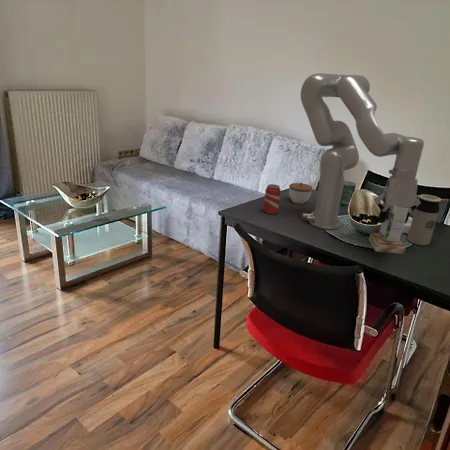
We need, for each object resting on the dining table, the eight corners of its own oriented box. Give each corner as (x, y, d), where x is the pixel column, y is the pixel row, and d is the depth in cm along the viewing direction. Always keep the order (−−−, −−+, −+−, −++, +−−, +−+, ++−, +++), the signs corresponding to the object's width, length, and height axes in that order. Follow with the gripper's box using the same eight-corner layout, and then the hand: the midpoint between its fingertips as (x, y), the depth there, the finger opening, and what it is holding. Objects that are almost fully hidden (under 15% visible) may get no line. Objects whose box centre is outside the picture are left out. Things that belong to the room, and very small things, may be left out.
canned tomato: (331, 203, 191) (335, 181, 187) (343, 201, 195) (347, 180, 190) (342, 208, 185) (346, 186, 181) (355, 207, 188) (359, 184, 184)
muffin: (397, 233, 160) (401, 217, 157) (396, 228, 165) (400, 212, 163) (413, 236, 158) (417, 220, 156) (412, 231, 164) (417, 215, 161)
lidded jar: (313, 205, 187) (316, 186, 183) (292, 205, 184) (294, 186, 181) (304, 198, 196) (307, 179, 193) (284, 198, 194) (286, 179, 190)
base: (375, 253, 143) (377, 242, 142) (368, 241, 152) (370, 232, 151) (403, 255, 143) (406, 245, 141) (394, 244, 152) (397, 234, 150)
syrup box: (377, 235, 148) (387, 198, 143) (393, 235, 149) (402, 199, 144) (384, 241, 143) (394, 203, 138) (400, 242, 144) (410, 204, 138)
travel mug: (403, 236, 157) (414, 193, 150) (424, 238, 157) (436, 194, 150) (412, 245, 150) (424, 200, 143) (433, 246, 150) (446, 201, 143)
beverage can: (280, 213, 173) (284, 187, 169) (269, 215, 170) (272, 188, 165) (271, 209, 178) (274, 183, 173) (260, 211, 174) (263, 184, 170)
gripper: (383, 175, 133) (373, 224, 139) (434, 178, 134) (421, 226, 140) (375, 169, 140) (365, 216, 146) (423, 172, 141) (411, 218, 147)
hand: (392, 221), depth 143 cm, fingers open, 7 cm apart
